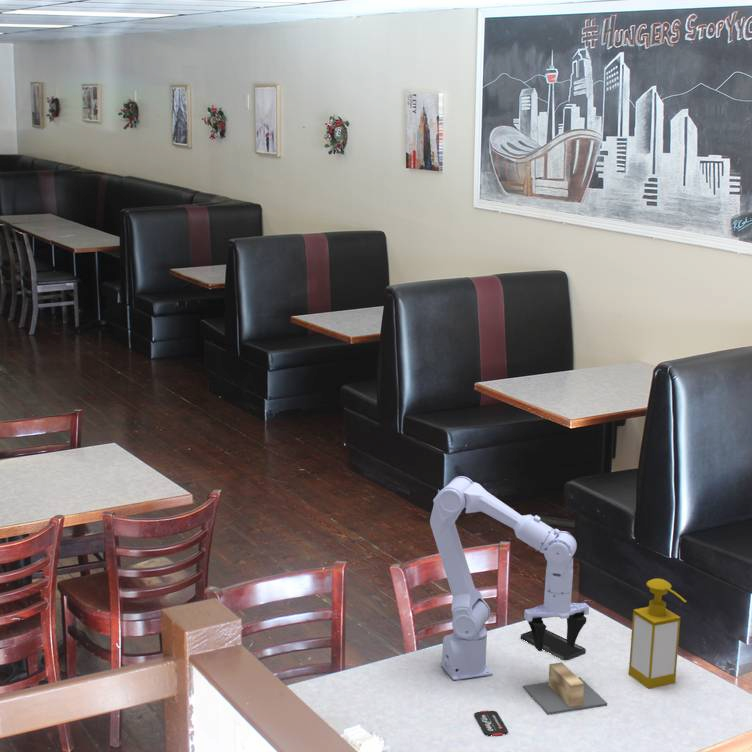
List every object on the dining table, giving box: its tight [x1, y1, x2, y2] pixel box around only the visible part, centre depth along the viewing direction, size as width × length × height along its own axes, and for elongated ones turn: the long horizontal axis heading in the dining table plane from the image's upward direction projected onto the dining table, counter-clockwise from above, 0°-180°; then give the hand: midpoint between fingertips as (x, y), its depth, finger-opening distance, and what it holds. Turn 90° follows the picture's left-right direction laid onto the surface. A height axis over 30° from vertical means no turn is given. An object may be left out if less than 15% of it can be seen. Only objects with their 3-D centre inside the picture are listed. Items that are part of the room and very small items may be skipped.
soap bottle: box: [628, 578, 687, 690], centre depth 240 cm, size 7×13×24 cm, turn 24°
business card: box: [473, 710, 509, 737], centre depth 224 cm, size 10×1×5 cm
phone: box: [520, 628, 587, 662], centre depth 260 cm, size 8×1×15 cm
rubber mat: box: [522, 676, 608, 715], centre depth 236 cm, size 14×12×1 cm
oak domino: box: [547, 661, 584, 707], centre depth 235 cm, size 10×3×5 cm, turn 18°
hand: (554, 647), depth 238 cm, fingers open, 7 cm apart
